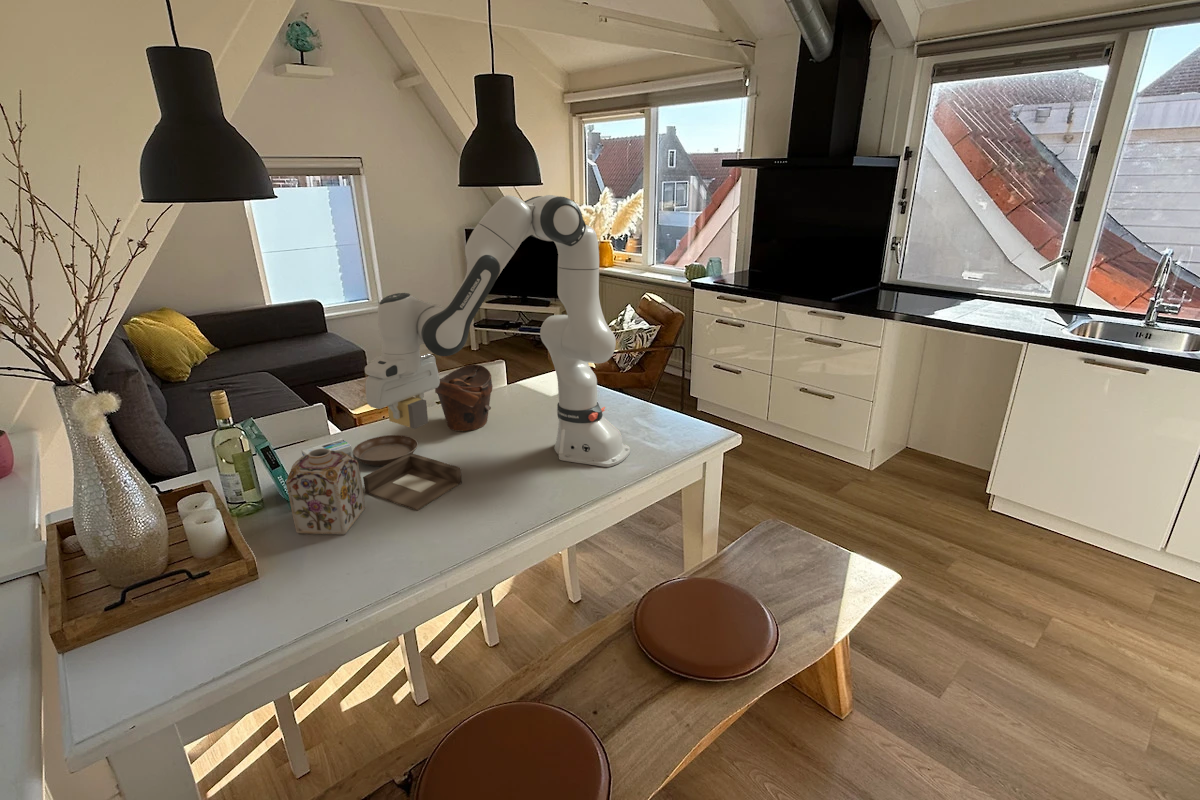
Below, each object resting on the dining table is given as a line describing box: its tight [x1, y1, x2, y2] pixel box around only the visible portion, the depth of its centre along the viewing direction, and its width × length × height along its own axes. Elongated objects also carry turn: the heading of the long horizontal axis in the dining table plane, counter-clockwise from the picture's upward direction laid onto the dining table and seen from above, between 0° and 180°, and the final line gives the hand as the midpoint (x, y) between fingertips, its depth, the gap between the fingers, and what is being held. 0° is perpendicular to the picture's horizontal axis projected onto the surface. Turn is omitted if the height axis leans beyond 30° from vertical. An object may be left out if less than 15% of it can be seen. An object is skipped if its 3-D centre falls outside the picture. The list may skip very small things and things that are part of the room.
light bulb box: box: [301, 437, 354, 458], centre depth 156 cm, size 11×7×11 cm, turn 135°
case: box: [434, 364, 493, 432], centre depth 192 cm, size 18×20×18 cm
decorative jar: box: [285, 448, 366, 536], centre depth 138 cm, size 12×12×18 cm
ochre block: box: [387, 396, 429, 430], centre depth 150 cm, size 4×9×6 cm, turn 58°
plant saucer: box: [352, 434, 419, 467], centre depth 173 cm, size 18×18×3 cm
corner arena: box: [362, 453, 463, 511], centre depth 155 cm, size 18×16×4 cm
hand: (407, 414), depth 150 cm, fingers closed on ochre block, 4 cm apart
